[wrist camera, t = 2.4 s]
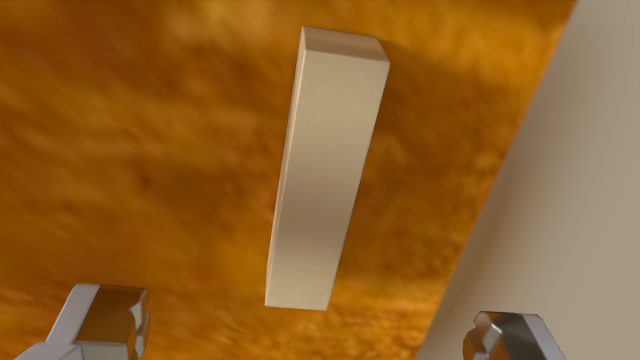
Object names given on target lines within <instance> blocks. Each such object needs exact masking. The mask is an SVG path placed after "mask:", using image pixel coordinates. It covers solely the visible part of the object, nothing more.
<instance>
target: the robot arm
mask: <svg viewBox="0 0 640 360" xmlns="http://www.w3.org/2000/svg"><path fill="white" fill-rule="evenodd" d="M148 302H149V290H148V289H146V288H135V287H125V286H114V285H103V284H102V285H100V284H88V283H78V284H77V285H76V286H75V287H74V288H73V289H72V291H71V293H70V295H69V297H68V299H67V301H66V303H65V305H64V307H63V309H62V311H61V313H60V315H59V317H58V318H57V320H56V322H55V324H54V326H53V328H52V330H51V332H50V334H49V336H48V338H47V340H46V342H45V343H36V344H35V345H33V346H32V347H30V348H29V349H28V350H26V351H25V352H23V353H22V354H20V355H19V356H18V357H16V358H15V359H13V360H138V359H139V358H140V357H141V356H142V355H143V354H144V352H145V348H146V344H147V340H148V334H149V327H150V313H149V312H148V311H147V310H146V309H147V306H148ZM474 324H475V326H476V327H475V328H474V329H472V330H470V331H469V332H467V334H466V337H465V339H464V341H463V357H464V360H566V358H565V356H564V355H563V353H562V351H561V350H560V348H559V346H558V345H557V343H556V341H555V340H554V338H553V336H552V335H551V333H550V331H549V330H548V328H547V326H546V325H545V323H544V321H543V320H542V318H541V317H540V316H538V315H537V314H523V313H509V312H508V313H507V312H489V311H481V312H479V313H478V314H477V315H476V317H475V319H474Z"/></svg>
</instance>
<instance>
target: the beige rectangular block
mask: <svg viewBox="0 0 640 360" xmlns="http://www.w3.org/2000/svg"><path fill="white" fill-rule="evenodd" d="M389 68H390V61H389V59H388V58H387V56H386V54H385V52H384V50H383V49H382V47H381V45H380V43H379V41H378V40H377V38H376V37H369V36H363V35H357V34H350V33H344V32H338V31H331V30H325V29H319V28H313V27H306V26H303V27H302V30H301V37H300V44H299V51H298V57H297V64H296V71H295V78H294V85H293V91H292V98H291V105H290V112H289V118H288V125H287V132H286V139H285V146H284V152H283V159H282V166H281V173H280V180H279V186H278V193H277V200H276V207H275V214H274V220H273V227H272V234H271V241H270V248H269V254H268V261H267V277H266V296H265V306H270V307H284V308H298V309H312V310H327V306H328V303H329V299H330V295H331V291H332V287H333V283H334V280H335V276H336V272H337V268H338V264H339V260H340V256H341V253H342V249H343V245H344V241H345V237H346V233H347V229H348V226H349V222H350V218H351V214H352V210H353V206H354V203H355V199H356V195H357V191H358V187H359V183H360V179H361V176H362V172H363V168H364V164H365V160H366V156H367V152H368V149H369V145H370V141H371V137H372V133H373V129H374V125H375V122H376V118H377V114H378V110H379V106H380V102H381V99H382V95H383V91H384V87H385V83H386V79H387V75H388V72H389Z"/></svg>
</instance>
